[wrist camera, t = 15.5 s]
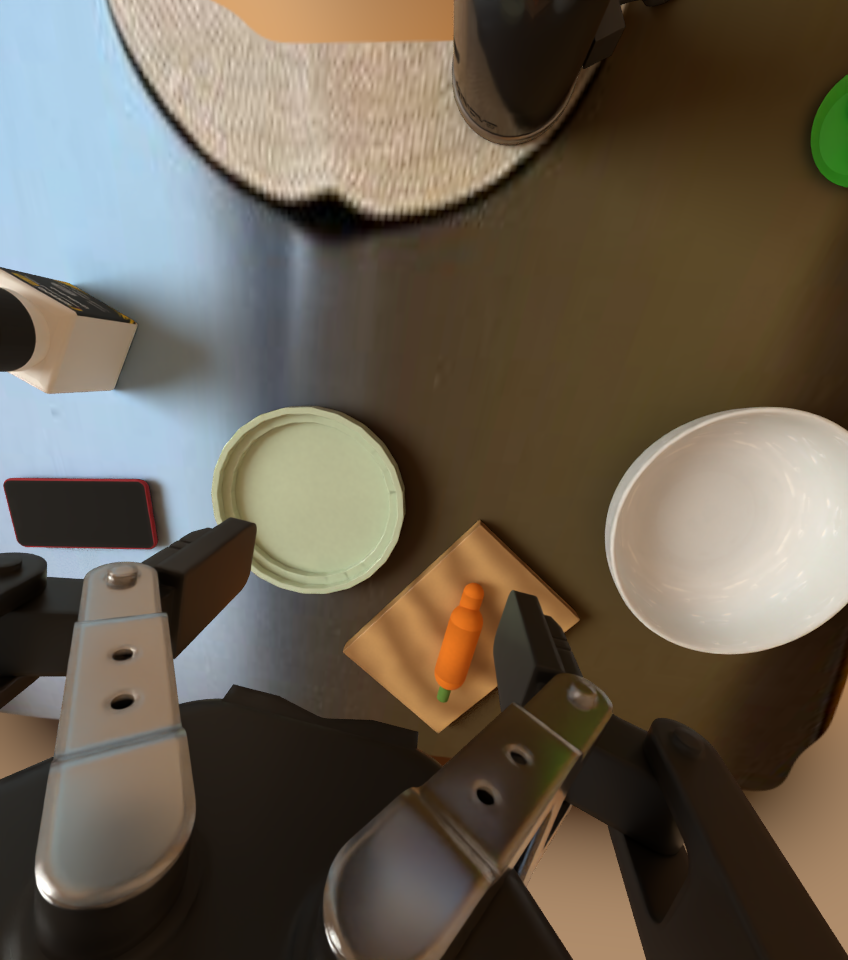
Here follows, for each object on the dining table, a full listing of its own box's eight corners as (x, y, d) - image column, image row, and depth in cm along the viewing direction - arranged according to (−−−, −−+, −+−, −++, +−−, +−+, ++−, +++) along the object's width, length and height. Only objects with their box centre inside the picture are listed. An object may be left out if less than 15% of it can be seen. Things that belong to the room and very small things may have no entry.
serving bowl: (681, 650, 44) (722, 700, 37) (539, 514, 41) (556, 541, 35) (866, 511, 39) (951, 540, 33) (719, 349, 37) (778, 344, 30)
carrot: (459, 575, 42) (461, 591, 39) (491, 583, 42) (495, 600, 39) (427, 683, 45) (426, 706, 42) (456, 690, 45) (458, 714, 42)
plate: (303, 363, 39) (293, 363, 37) (444, 498, 42) (444, 505, 39) (189, 498, 43) (174, 505, 41) (324, 614, 46) (317, 627, 43)
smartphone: (156, 550, 44) (17, 547, 45) (162, 546, 45) (26, 543, 46) (144, 480, 42) (0, 478, 43) (150, 477, 43) (9, 476, 44)
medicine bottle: (140, 323, 39) (10, 302, 28) (115, 391, 41) (-18, 399, 29) (68, 281, 39) (-95, 243, 27) (46, 352, 41) (-117, 345, 29)
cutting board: (479, 519, 42) (480, 524, 40) (576, 611, 44) (580, 620, 42) (345, 643, 46) (342, 652, 45) (438, 722, 48) (438, 733, 47)
